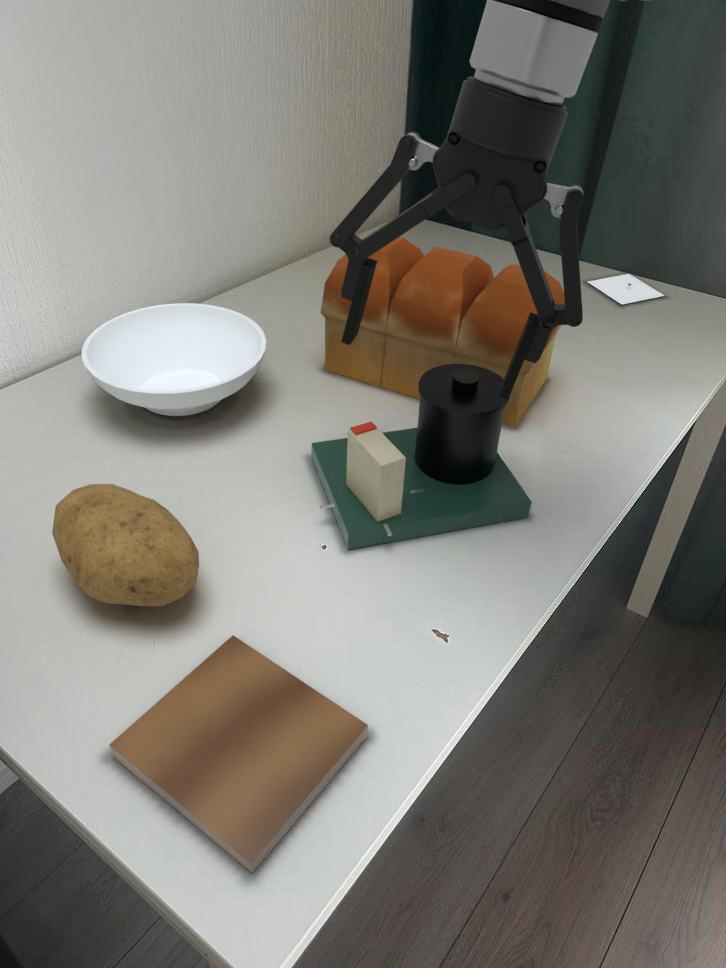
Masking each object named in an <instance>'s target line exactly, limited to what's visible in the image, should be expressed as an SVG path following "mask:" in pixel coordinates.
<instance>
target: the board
mask: <svg viewBox="0 0 726 968" xmlns="http://www.w3.org/2000/svg"><path fill="white" fill-rule="evenodd" d="M368 727H369V725H368V724H367V723H366V722H364V721H362V720H361V719H360V718H358V717H357V716H355V715H353V714H352V713H351V712H349V711H348V710H346V709H345V708H344V707H342V706H341V705H339V704H338V703H336V702H334V701H333V700H332V699H330V698H328V697H327V696H325V695H324V694H322V693H321V692H319V691H318V690H316V689H315V688H314V687H312V686H310V685H309V684H308V683H306V682H304V681H303V680H302V679H300V678H298V677H297V676H295V675H294V674H292V673H291V672H289V671H288V670H286V669H285V668H284V667H282V666H280V665H279V664H277V663H276V662H274V661H272V660H271V659H269V658H268V657H267V656H265V655H264V654H263V653H261V652H259V651H258V650H257V649H255V648H254V647H252V646H251V645H249V644H247V643H245V642H244V641H243V640H241V639H239V638H238V637H237V636H235V635H234V634H232V635H231V636H230V637H229V638H228V639H227V640H226V641H224V643H222V644H221V645H220V646H219V647H218V648H216V650H215V651H213V652H212V653H211V654H210V655H209V656H208V657H207V658H205V659H204V660H203V661H202V662H201V663H200V664H199V665H197V666H196V667H195V668H194V669H193V670H192V671H191V672H190V673H189V674H187V675H186V676H185V677H184V678H183V679H182V680H181V681H179V682H178V683H177V684H176V685H175V686H174V687H172V689H170V690H169V691H168V692H166V694H164V696H163V697H161V698H159V700H158V701H157V702H156V703H154V704H153V705H152V706H151V707H150V708H149V709H148V710H146V711H145V712H144V713H143V714H142V715H141V716H140V717H138V718H137V719H136V720H135V721H134V722H133V723H132V724H131V725H130V726H129V727H127V728H125V730H124V731H123V732H121V734H119V735H118V736H117V737H116V738H115V739H114V740H112V742H110V743H109V748H110V751H111V754H112V757H113V758H114V759H115V760H117V762H119V763H120V764H121V765H122V766H123V767H125V768H126V769H127V770H129V771H130V772H131V773H132V774H133V775H134V776H136V778H138V779H139V780H140V781H141V782H142V783H144V784H145V785H146V786H147V787H149V788H150V789H151V790H152V791H153V792H155V793H156V794H157V795H158V796H160V798H161V799H163V800H164V801H165V802H166V803H167V804H169V805H170V806H171V807H173V808H174V809H175V811H177V812H178V813H179V814H181V815H182V816H183V817H184V818H186V819H187V820H188V821H189V822H190V823H191V824H192V825H194V826H195V827H196V828H197V829H199V831H201V832H202V833H203V834H204V835H206V836H207V837H208V838H210V839H211V840H212V841H213V842H214V843H215V844H216V845H218V846H219V847H220V848H221V849H223V850H224V851H225V852H226V853H227V854H229V856H231V857H232V858H233V859H234V860H236V861H237V863H240V865H242V866H243V868H245V869H246V870H248V871H249V872H250V873H251V874H254V873H255V871H256V870H257V869H258V868H259V866H260V865H261V864H262V863H263V861H264V860H265V859H266V858H267V857H268V856H269V854H270V853H271V852H272V851H273V850H274V848H275V847H276V846H277V845H278V844H279V842H280V841H281V840H282V839H283V838H284V837H285V835H286V834H287V833H288V832H289V830H290V829H291V828H293V826H294V825H295V823H296V822H297V821H298V820H299V818H300V817H301V816H302V815H303V814H304V813H305V812H306V810H307V809H308V808H310V805H311V804H313V802H314V801H315V800H316V799H317V797H318V796H319V795H320V794H321V792H322V791H323V790H324V789H325V788H326V786H328V784H329V783H330V782H331V781H332V779H333V778H334V777H335V776H336V774H337V773H338V772H339V771H340V770H341V769H342V767H343V766H344V765H345V764H346V763H347V761H348V760H349V759H350V757H352V756H353V754H354V753H355V752H356V750H357V749H358V748H359V747H360V746H361V745H362V744H363V742H364V741H366V739H367V737H368Z"/></svg>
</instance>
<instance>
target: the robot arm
mask: <svg viewBox="0 0 726 968" xmlns="http://www.w3.org/2000/svg"><path fill="white" fill-rule="evenodd" d="M618 1H620V2H625V1H627V0H618ZM639 1H641V2H642V1H643V2H651V1H654V0H639ZM610 2H611V0H486V3H485V7H484V10H483V14H482V17H481V20H480V24H479V27H478V31H477V34H476V38H475V40H474V43H473V45H474V46H473V48H472V52H471V55H470V58H469V64H470V67H471V68H473V69H474V70H475V72H474V75H473V76H472V75H471V76H468V77H467V78H466V79H464V80H463V82H462V85H461V88H460V92H459V95H458V98H457V101H456V104H455V109H454V112H453V115H452V119H451V122H450V125H449V128H448V132H447V135H446V137H445V140H444V141H443V143H442V144H441V145H440V147H439V146H437V145H435V144H433V143H431V142H428V141H426V140H424V139H422V137H421V136H420V134H419V133H418V132H416V131H410V132H408V133H407V134H405V135H403V136H402V137H400V139H399V141H398V143H397V146H396V149H395V152H394V154H393V157H392V159H391V162H390V164H389V165H388V166H387V168H386V169H385V170H384V171H383V172H382V174H381V175H380V176H379V177H378V178H377V179H376V181H375V182H373V184H372V186H370V188H369V189H368V190H367V191H366V192H365V194H363V195H362V197H361V198H360V199H359V200H358V202H357V203H356V204H355V205H354V206H353V208H352V209H351V210H350V211H349V212H348V213H347V214H346V216H345V217H344V218H343V219H342V220H341V221H340V223H338V225H337V226H336V228H335V229H334V230H333V232H331V233H330V236H329V243H330V245H331V246H332V247H334V248H338V249H339V250H341V251H342V252H343V253H344V254H346V255H347V257H348V266H347V269H346V273H345V277H344V281H343V285H342V289H341V295H342V298H344V299H347V300H350V301H352V303H351V307H350V310H349V314H348V318H347V322H346V326H345V329H344V333H343V337H342V341H341V342H342V343H345V344H347V345H350V344H351V343H352V341H353V340H354V339H355V337H356V336H357V334H358V331H359V327H360V323H361V320H362V316H363V312H364V309H365V305H366V302H367V298H368V294H369V291H370V287H371V283H372V280H373V276H374V272H375V269H376V265H377V261H376V260H373V259H371V258H368V257H369V256H371V255H372V254H374V253H375V252H377V251H378V250H380V249H381V248H383V247H384V246H386V245H387V244H389V243H390V242H392V241H394V240H395V239H397V238H398V237H402V236H403V235H404V234H406V233H407V232H409V231H410V230H412V229H413V228H415V227H416V226H418V225H419V224H421V223H422V222H424V221H426V220H427V219H428V218H431V217H432V216H434V215H435V214H437V213H438V212H440V211H441V210H443V209H444V208H445V209H446V211H447V212H448V213H449V214H450V216H452V219H453V220H456V221H458V222H464V223H474V224H476V225H477V226H479V227H480V228H482V229H484V230H485V231H490V232H494V231H500V230H503V229H505V230H506V231H505V232H506V233H507V237H508V240H509V241H510V244H511V245H512V248H513V250H514V253H515V255H516V258H517V261H518V265H520V266H521V269H522V272H523V275H524V277H525V280H526V283H527V286H528V288H529V291H530V294H531V297H532V299H533V302H534V305H535V308H536V310H537V313H538V315H537V314H534V313H531V312H530V314H529V317H528V319H527V322H526V324H525V327H524V329H523V332H522V334H521V337H520V340H519V342H518V345H517V347H516V350H515V352H514V355H513V357H512V360H511V362H510V365H509V367H508V370H507V372H506V375H505V377H504V380H503V382H502V385H501V390H500V395H499V397H501V398H504V399H507V400H508V399H509V396H510V394H511V391H512V389H513V386H514V384H515V382H516V379H517V377H518V374H519V372H520V369H521V367H522V364H523V362H524V360H526V361H529V362H532V363H536V362H537V361H538V360H539V359H540V357H541V355H542V353H543V350H544V348H545V346H546V343H547V341H548V338H549V336H550V334H551V331H552V330H553V329H554V328H555V327H556V326H559V325H561V326H569V327H572V328H576V327H579V326H580V325H581V324H582V323H583V320H584V319H583V318H584V315H583V314H584V313H583V312H584V311H583V295H582V283H581V281H582V280H581V269H580V266H581V265H580V253H579V238H578V221H579V217H580V213H581V210H582V207H583V203H584V197H585V196H584V189H583V187H582V186H581V185H579V184H572V185H570V186H566V185H561V184H556V183H551V182H548V170H549V167H550V164H551V161H552V158H553V157H554V153H555V151H556V148H557V146H558V143H559V140H560V137H561V135H562V132H563V129H564V126H565V124H566V121H567V118H568V116H569V113H568V112H567V110H568V108H567V106H566V105H565V99H566V98H568V99H570V98H573V97H574V96H576V94H577V91H578V88H579V86H580V83H581V81H582V78H583V75H584V72H585V70H586V67H587V64H588V63H589V59H590V56H591V54H592V51H593V49H594V46H595V44H596V40H597V38H598V35H599V31H600V30H601V26H602V24H603V20H604V17H605V15H606V12H607V10H608V7H609V4H610ZM424 163H432V169H433V172H434V175H435V178H436V182H437V184H438V187H437V188H436V189H434V190H433V191H432V192H430V193H429V194H427V195H426V196H425V197H423V198H422V199H420V200H419V201H417V202H416V203H414V204H413V205H412V206H410V207H409V208H407V209H405V210H404V211H403V212H401V213H400V214H398V215H397V216H395V217H394V218H392V219H391V220H389V221H388V222H386V223H385V224H383V225H381V227H379V228H377V229H376V230H375V231H372V232H371V233H370V234H369V235H367V236H366V237H364V238H363V239H362V238H361V237H359V236H358V235H357V234H356V233H357V232H358V230H359V229H360V228H361V227H362V226H363V225H364V223H365V222H366V221H367V220H368V219H369V218H370V217H371V215H372V214H373V213H374V212H375V211H376V210H377V208H379V206H380V205H381V204H382V203H383V202H384V200H385V199H386V198H388V196H389V195H390V193H391V192H393V190H394V189H395V188H396V186H397V185H398V184H399V183H400V182H401V181H402V179H404V177H405V176H406V175H407V174H408V172H409V171H417V170H419V169H420V168H421V167H422V166H423V165H424ZM543 200H546V201H548V203H549V204H550V213H551V215H552V216H553V217H554V218H557V219H559V228H558V229H559V245H560V246H559V247H560V256H561V257H560V258H561V270H562V283H563V291H564V297H565V304H555V301H554V298H553V295H552V293H551V290H550V287H549V284H548V281H547V278H546V276H545V273H544V271H545V270H544V267H543V265H542V262H541V259H540V256H539V253H538V251H537V248H536V245H535V242H534V239H533V236H532V234H531V229H530V225H529V223H528V220H527V217H526V213H528V212H529V211H530V210H532V209H533V208H534V207H536V206H537V205H539V204H540V203H541V202H542V201H543Z"/></svg>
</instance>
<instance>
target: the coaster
mask: <svg viewBox="0 0 726 968" xmlns="http://www.w3.org/2000/svg"><path fill="white" fill-rule="evenodd" d="M587 283H588V284H589V285H591V286H593V287H594V288H596V289H597V290H598V291H600V292H602V293H603V294H604V295H606V296H608V297H609V298H611V299H612V300H614V301H615V302H617V303H619V304H620V305H627V304H632V303H637V302H641V301H647V300H650V299H651V300H652V299H656V298H661V297H665V294H663V293H662V292H660V291H659V290H656V289H655V288H653V287H651V286H650V285H648V284H647V283H645V282H644V281H642V280H640V279H639V278H637V277H635V276H634V275H632V274H630V273H625V274H620V275H614V276H609V277H605V278H604V277H603V278H599V279H593V280H588V281H587Z"/></svg>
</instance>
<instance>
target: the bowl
mask: <svg viewBox="0 0 726 968" xmlns="http://www.w3.org/2000/svg"><path fill="white" fill-rule="evenodd" d="M266 350H267V338H266V335H265V332H264V330H263V329H262V327H260V325H259V324H258V323H257V322H256V321H254V320H253V319H251V318H250V317H248V316H246V315H244V314H242V313H240V312H238V311H235V310H233V309H229V308H227V307H224V306H223V307H222V306H217V305H212V304H204V303H196V302H195V303H194V302H193V303H192V302H191V303H190V302H189V303H188V302H185V303H184V302H183V303H182V302H181V303H180V302H177V303H176V302H175V303H166V304H165V303H163V304H157V305H156V304H155V305H150V306H145V307H141V308H137V309H133V310H131V311H127V312H125V313H123V314H120V315H117V316H114V317H113V318H111V319H109V320H107V321H105V322H104V323H102V324H101V325H99V326H98V327H97V328H95V329H94V330H93V331H92V332H91V333H89V335H88V336H87V338H86V339H85V341H84V343H83V345H82V347H81V360H82V362H83V365H84V367H85V369H86V371H87V373H88V375H89V376H90V377H91V378H92V379H93V381H94V382H95V383H96V384H97V385H98V386H99V387H100V388H101V389H103V390H104V391H106V392H107V393H108V394H109V395H111V396H113V397H114V398H115V399H117V400H119V401H122V402H124V403H126V404H129V405H133V406H137V407H141V408H145V409H146V410H148V411H149V412H152V413H155V414H158V415H162V416H169V417H185V416H191V415H195V414H196V415H197V414H199V413H200V414H201V413H202V412H206V411H208V410H210V409H212V408H214V407H215V406H216V405H217V404H219V403H220V402H221V401H222V400H223V399H226V398H228V397H229V396H231V395H234V394H236V393H237V392H238V391H240V390H241V389H242V388H243V387H245V386H246V385H247V383H249V381H250V380H251V379H252V378H253V377H254V376H255V374H256V373H257V372H258V371H259V368H260V367H261V365H262V362H263V360H264V357H265V355H266V352H267V351H266Z"/></svg>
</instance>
